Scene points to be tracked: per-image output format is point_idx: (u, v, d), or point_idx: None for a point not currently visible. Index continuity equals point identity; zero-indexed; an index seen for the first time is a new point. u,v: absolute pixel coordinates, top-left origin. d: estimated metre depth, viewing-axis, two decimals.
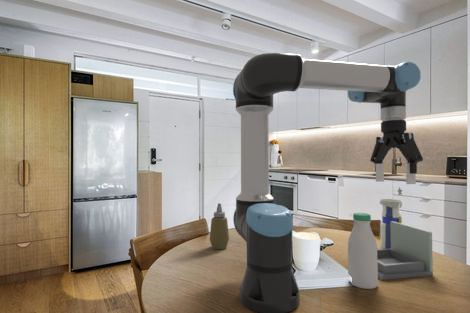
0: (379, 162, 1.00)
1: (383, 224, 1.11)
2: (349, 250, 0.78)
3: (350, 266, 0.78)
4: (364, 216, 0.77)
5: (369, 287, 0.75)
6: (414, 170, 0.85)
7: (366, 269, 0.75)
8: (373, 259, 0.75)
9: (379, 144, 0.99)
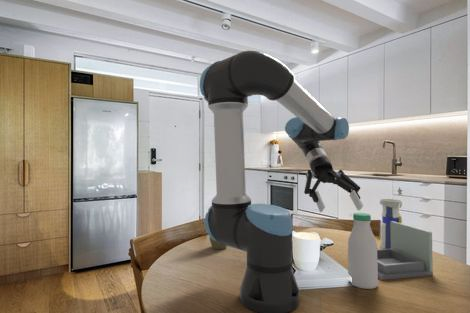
0: None
1: (383, 224, 1.11)
2: (349, 250, 0.78)
3: (350, 266, 0.78)
4: (364, 216, 0.77)
5: (369, 287, 0.75)
6: None
7: (366, 269, 0.75)
8: (373, 259, 0.75)
9: None
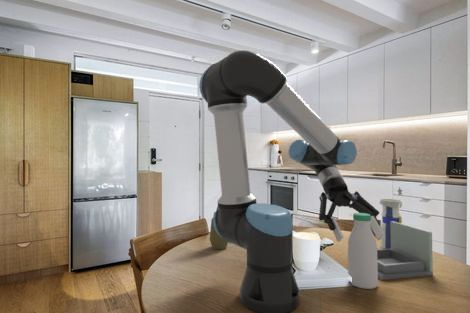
0: None
1: (383, 224, 1.11)
2: (349, 250, 0.78)
3: (350, 266, 0.78)
4: (364, 216, 0.77)
5: (369, 287, 0.75)
6: None
7: (366, 269, 0.75)
8: (373, 259, 0.75)
9: None
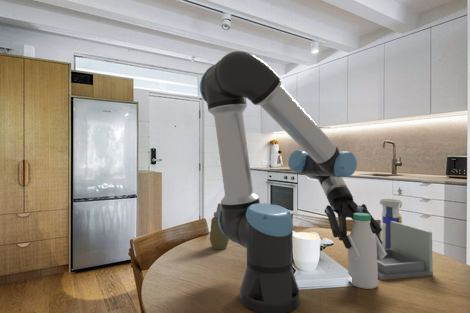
0: None
1: (383, 224, 1.11)
2: None
3: (350, 266, 0.78)
4: (364, 216, 0.77)
5: (369, 287, 0.75)
6: None
7: (366, 269, 0.75)
8: (373, 259, 0.75)
9: None
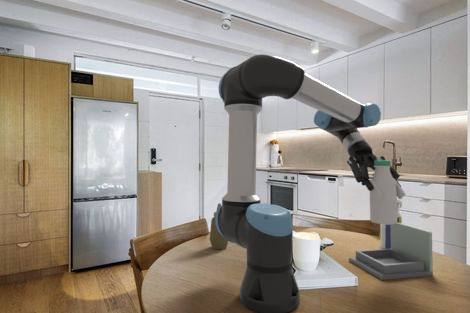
0: None
1: (383, 224, 1.11)
2: (371, 193, 0.88)
3: (372, 206, 0.87)
4: (384, 161, 0.86)
5: (390, 223, 0.84)
6: None
7: (387, 207, 0.84)
8: (394, 198, 0.84)
9: None
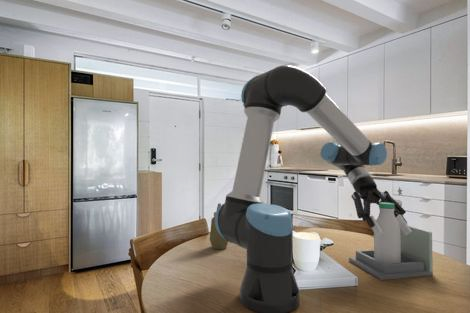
0: None
1: None
2: None
3: (376, 248, 0.90)
4: (389, 204, 0.89)
5: None
6: None
7: (391, 250, 0.87)
8: (398, 241, 0.87)
9: None
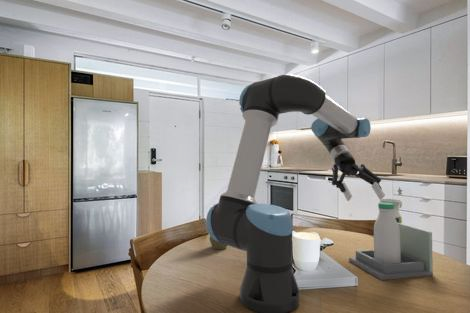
0: None
1: None
2: (375, 235, 0.90)
3: (376, 248, 0.90)
4: (389, 205, 0.88)
5: None
6: None
7: (391, 250, 0.87)
8: (397, 242, 0.87)
9: None
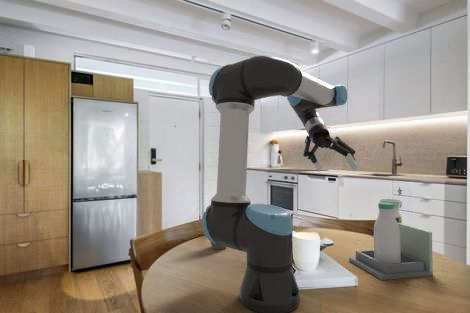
0: None
1: None
2: (375, 235, 0.90)
3: (376, 248, 0.90)
4: (389, 205, 0.89)
5: None
6: None
7: (391, 250, 0.87)
8: (397, 242, 0.87)
9: None
